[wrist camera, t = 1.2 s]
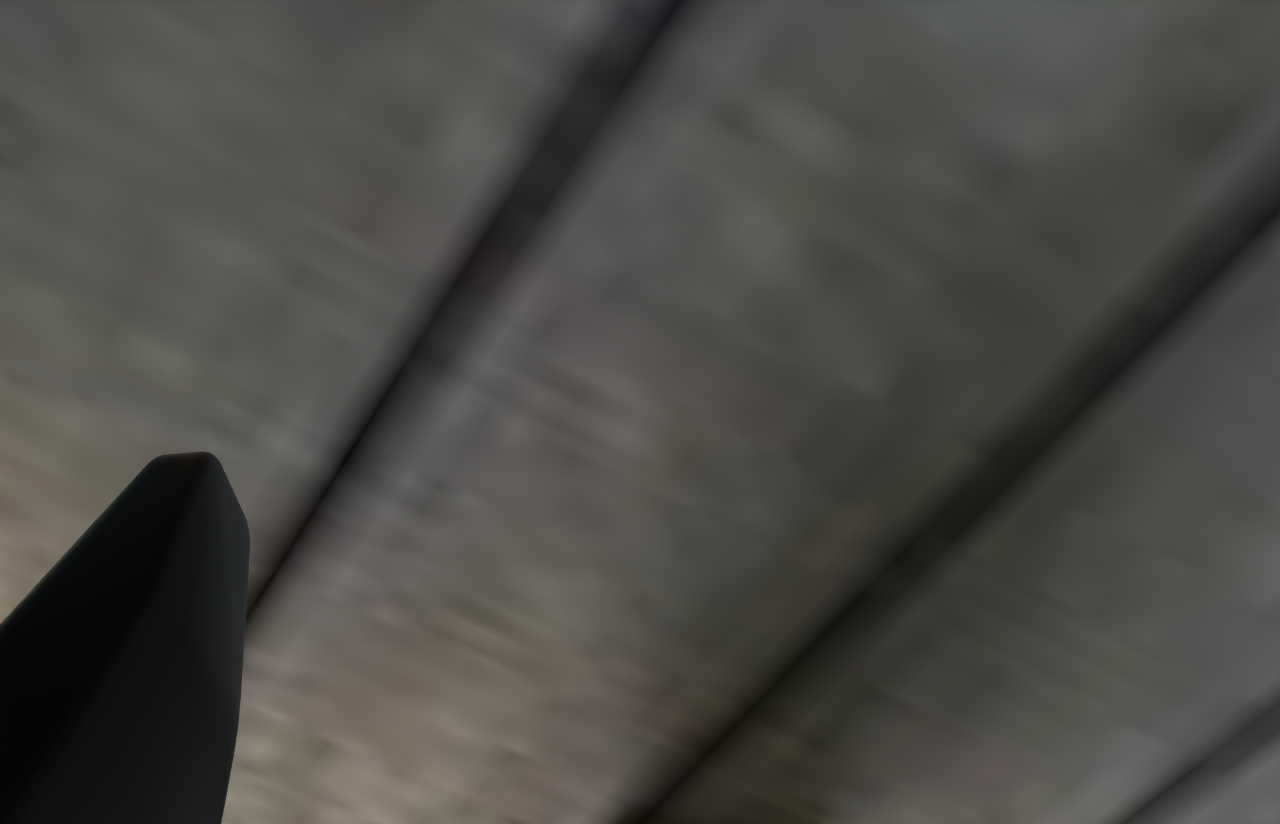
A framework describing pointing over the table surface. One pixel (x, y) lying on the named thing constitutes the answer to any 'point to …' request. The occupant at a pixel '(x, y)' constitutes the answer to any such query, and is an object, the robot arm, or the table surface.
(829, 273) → the table surface
